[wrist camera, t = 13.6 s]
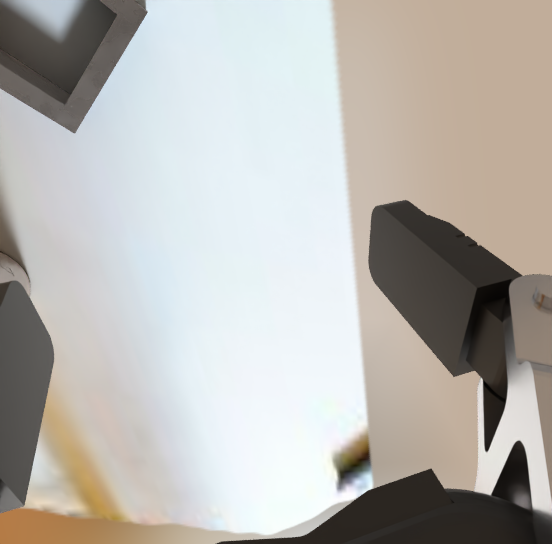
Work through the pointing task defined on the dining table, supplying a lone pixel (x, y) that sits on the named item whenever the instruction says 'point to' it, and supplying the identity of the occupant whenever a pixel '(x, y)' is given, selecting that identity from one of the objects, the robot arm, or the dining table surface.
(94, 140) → the dining table surface
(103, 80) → the sleeve
